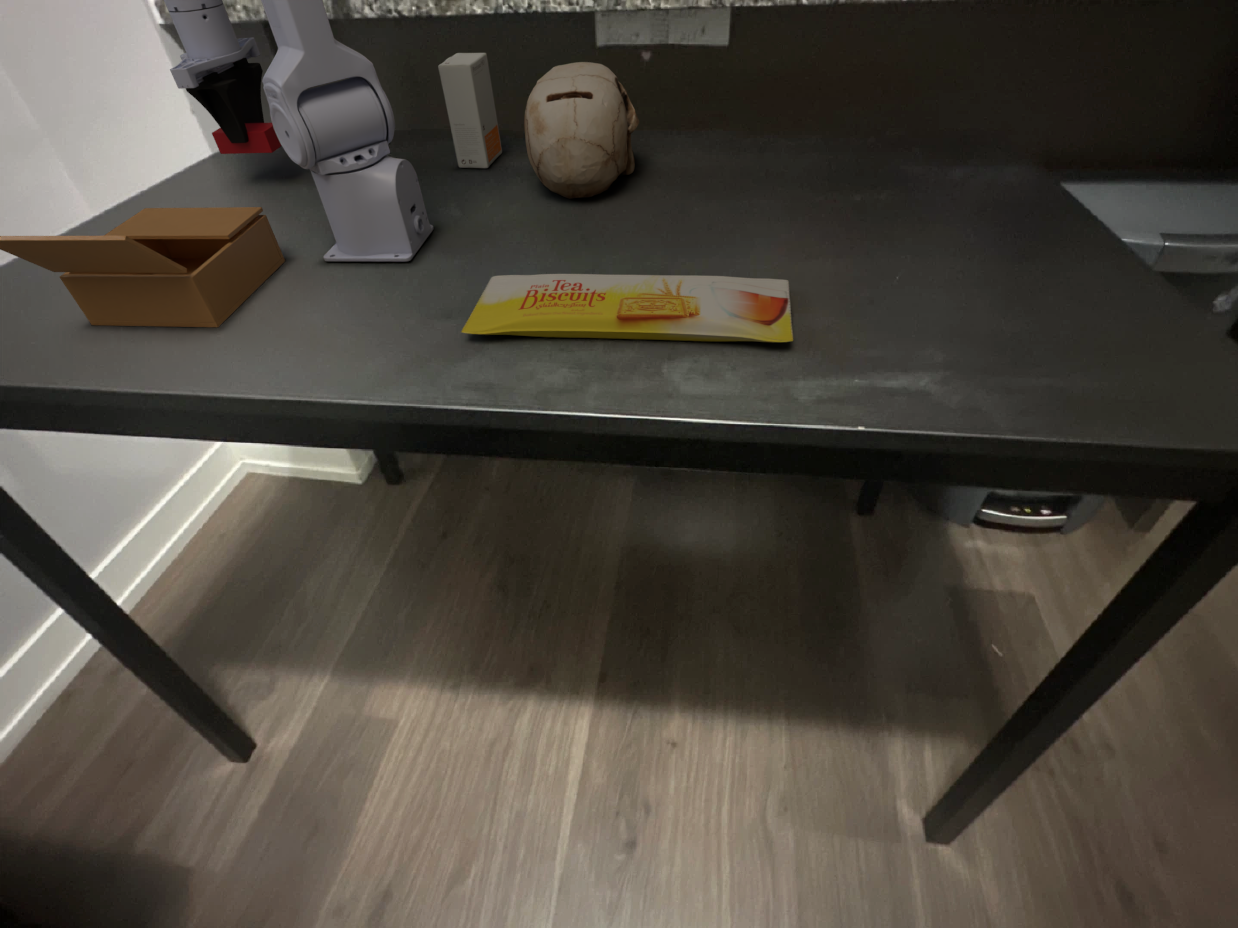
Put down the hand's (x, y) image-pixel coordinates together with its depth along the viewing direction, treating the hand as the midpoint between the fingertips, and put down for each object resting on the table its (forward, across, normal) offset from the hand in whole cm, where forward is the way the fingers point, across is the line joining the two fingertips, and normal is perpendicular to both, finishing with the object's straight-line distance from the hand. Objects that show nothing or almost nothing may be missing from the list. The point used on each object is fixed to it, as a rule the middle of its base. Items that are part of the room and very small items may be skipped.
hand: (248, 136), depth 85 cm
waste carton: (+6, +28, +7) cm, 29 cm away
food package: (+6, +32, +51) cm, 60 cm away
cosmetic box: (+6, -7, +27) cm, 28 cm away
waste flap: (-2, +36, +7) cm, 37 cm away
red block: (+1, 0, 0) cm, 1 cm away
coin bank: (+6, -1, +42) cm, 42 cm away
